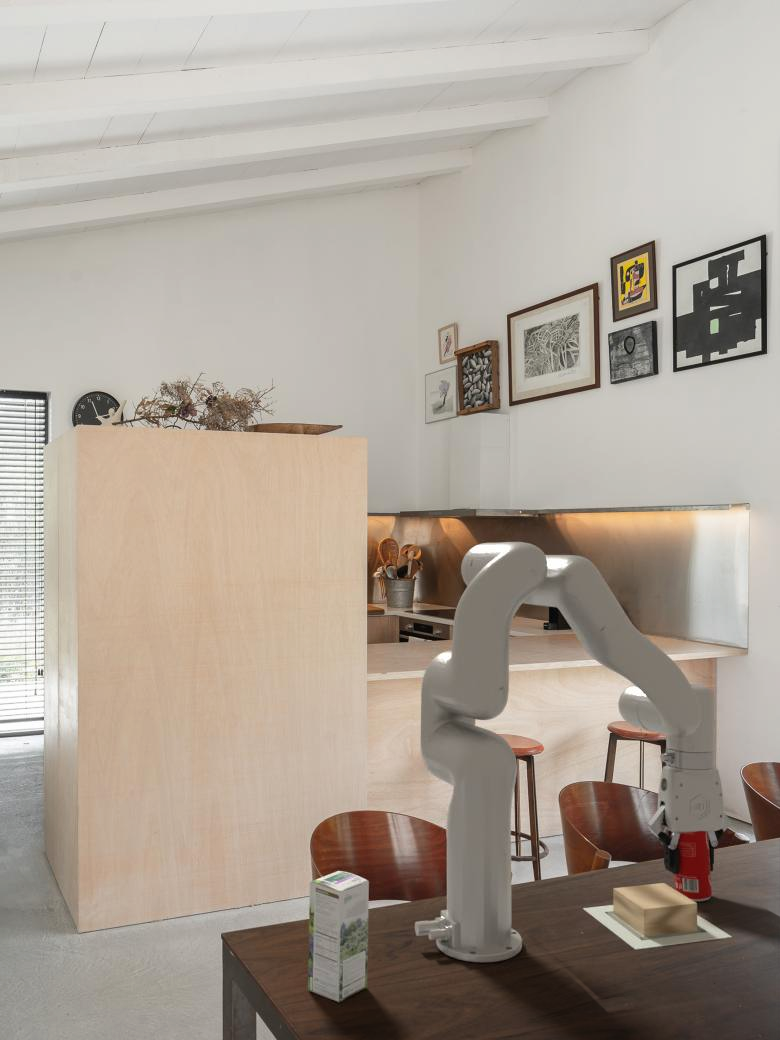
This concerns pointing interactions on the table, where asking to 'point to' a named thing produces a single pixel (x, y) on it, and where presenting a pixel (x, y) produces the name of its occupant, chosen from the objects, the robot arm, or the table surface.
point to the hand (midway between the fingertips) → (688, 869)
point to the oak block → (655, 909)
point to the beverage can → (694, 866)
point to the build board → (640, 942)
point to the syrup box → (338, 935)
